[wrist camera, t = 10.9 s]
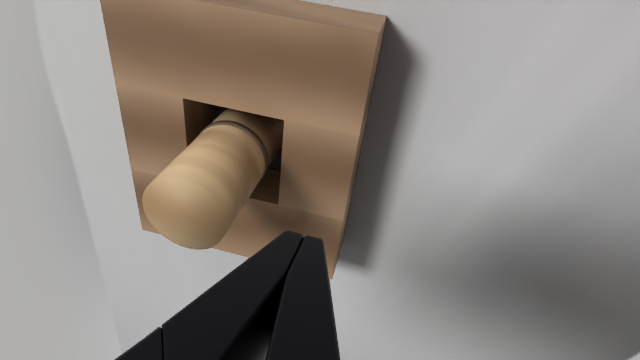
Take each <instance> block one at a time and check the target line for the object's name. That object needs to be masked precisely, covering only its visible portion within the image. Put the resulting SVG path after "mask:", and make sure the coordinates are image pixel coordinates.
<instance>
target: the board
mask: <svg viewBox="0 0 640 360" xmlns="http://www.w3.org/2000/svg"><path fill="white" fill-rule="evenodd" d="M100 2H101V7H102V13H103V18H104V24H105V29H106V35H107V40H108V45H109V51H110V56H111V62H112V67H113V73H114V78H115V83H116V89H117V94H118V100H119V105H120V111H121V116H122V121H123V127H124V132H125V138H126V143H127V148H128V154H129V159H130V165H131V170H132V176H133V181H134V186H135V192H136V197H137V203H138V208H139V214H140V219H141V224H142V229H143V230H146V231H150V232H154V233H158V234H161V233H159V232H158V231H157V230H156V229H155V228H154V226H153V225H152V224H151V223H150V221H149V220H148V218H147V216H146V214H145V212H144V208H143V203H142V197H143V193H144V191H145V189H146V187H147V186H148V185H149V184H150V183H151V182H152V181H153V180H154V179H155V178H156V177H157V176H158V175H159V174H160V173H161V172H162V171H163V170H164V169H165V168H166V167H167V166H168V165H169V164H170V163H171V162H172V161H173V160H174V159H175V158H176V157H177V156H178V155H180V154H181V153H182V152H183V151H184V150H185V149H186V148H187V147H188V146H189V145H190V144H191V143H192V142H193V141H194V140H195V139H196V138H197V137H198V135H199V134H200V133H201V131H202V130H203V129H204V128H206V127H207V126H208V125H209V124H211V123H212V122H213V112H212V105H216V106H221V107H226V108H230V109H235V110H240V111H244V112H249V113H253V114H258V115H263V116H267V117H272V118H277V119H281V120H284V129H283V143H282V158H281V171H278V170H273V169H269V168H268V169H267V171H266V173H265V175H264V176H263V178H262V179H261V181H260V182H259V183H258V184H257V186H256V187H255V189H254V190H253V192H252V193H251V195H250V196H249V198H248V200H247V201H246V203H245V204H244V206H243V207H242V209H241V210H240V212H239V214H238V215H237V217H236V218H235V220H234V221H233V223H232V225H231V226H230V228H229V229H228V231H227V232H226V234H225V235H224V237H223V239H222V240H221V241H220V242H219V243H218V244H217V245H215V246H213V247H211V248H215V249H219V250H223V251H226V252H230V253H234V254H238V255H242V256H245V257H249V258H250V257H251V256H253V255H254V254H255V253H257V252H258V251H259V250H261V249H262V248H263V247H264V246H266V245H267V244H268V243H270V242H271V241H272V240H274V239H275V238H276V237H278V236H279V235H280V234H281V233H283V232H284V231H286V230H290V231H294V232H298V233H301V234H303V235H304V237H305V236H306V235H310V236H314V237H317V238H321V239H323V241H324V245H325V252H326V259H327V267H328V274H329V279H332V277H333V274H334V270H335V267H336V263H337V260H338V256H339V253H340V249H341V246H342V241H343V236H344V231H345V226H346V221H347V216H348V211H349V206H350V201H351V196H352V191H353V186H354V180H355V175H356V170H357V165H358V160H359V155H360V150H361V145H362V140H363V135H364V130H365V125H366V120H367V114H368V109H369V104H370V99H371V94H372V89H373V84H374V79H375V74H376V69H377V64H378V59H379V54H380V48H381V43H382V38H383V33H384V28H385V23H386V18H387V16H383V15H378V14H372V13H366V12H361V11H355V10H349V9H344V8H338V7H332V6H327V5H321V4H315V3H310V2H304V1H298V0H100Z"/></svg>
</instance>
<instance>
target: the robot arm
mask: <svg viewBox="0 0 640 360" xmlns="http://www.w3.org/2000/svg"><path fill="white" fill-rule="evenodd" d="M115 360H340V354H339V347H338V340H337V332H336V325H335V318H334V311H333V303H332V296H331V289H330V281H329V274H328V267H327V259H326V252H325V245H324V241H323V239H321V238H317V237H314V236H310V235H306V236H305V237H304V235H303V234H301V233H298V232H294V231H290V230H286V231H284V232H283V233H281V234H280V235H279V236H278V237H276V238H275V239H274V240H272V241H271V242H270V243H268V244H267V245H266V246H264V247H263V248H262V249H261V250H259V251H258V252H257V253H255V254H254V255H253V256H251V257H250V258H249V259H247V260H246V261H245V262H244V263H242V264H241V265H240V266H238V267H237V268H236V269H234V270H233V271H232V272H230V273H229V274H228V275H226V276H225V277H224V278H223V279H221V280H220V281H219V282H217V283H216V284H215V285H213V286H212V287H211V288H209V289H208V290H207V291H206V292H204V293H203V294H202V295H200V296H199V297H198V298H196V299H195V300H194V301H192V302H191V303H190V304H189V305H187V306H186V307H185V308H183V309H182V310H181V311H179V312H178V313H177V314H175V315H174V316H173V317H172V318H170V319H169V320H168V321H166V322H165V323H164V324H162V328H160V327H158V328H157V329H155V330H154V331H153V332H152V333H150V334H149V335H148V336H146V337H145V338H144V339H142V340H141V341H140V342H138V343H137V344H136V345H134V346H133V347H131V348H130V349H129V350H127V351H126V352H125V353H123V354H122V355H120V356H119V357H118V358H116V359H115Z"/></svg>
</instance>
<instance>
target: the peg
mask: <svg viewBox="0 0 640 360" xmlns="http://www.w3.org/2000/svg"><path fill="white" fill-rule="evenodd" d="M283 129H284V120H281V119H277V118H272V117H267V116H263V115H258V114H253V113H249V112H244V111H240V110H235V109H230V108H226V109H225V110H224V111H223V112H222V113H221V114H220V115H219V116H218V117H217V118H216V119H215V120H214V121H213V122H212V123H211V124H209V125H208V126H207V127H206V128H204V129H203V130H202V131H201V133H200V134H199V135H198V137H197V138H196V139H195V140H194V141H193V142H192V143H191V144H190V145H189V146H188V147H187V148H186V149H185V150H184V151H183V152H182V153H181V154H180V155H178V156H177V157H176V158H175V159H174V160H173V161H172V162H171V163H170V164H169V165H168V166H167V167H166V168H165V169H164V170H163V171H162V172H161V173H160V174H159V175H158V176H157V177H156V178H155V179H154V180H153V181H152V182H151V183H150V184H149V185H148V186H147V187H146V189H145V191H144V193H143V197H142V203H143V208H144V212H145V214H146V216H147V218H148V220H149V221H150V223H151V224H152V225H153V226H154V228H155V229H156V230H157V231H158V232H159V233H161V234H162V235H163V236H164V237H166V238H167V239H169V240H170V241H172V242H174V243H176V244H178V245H180V246H183V247H186V248H191V249H208V248H211V247H213V246H215V245H217V244H218V243H219V242H220V241H221V240H222V239H223V237H224V235H225V234H226V232H227V231H228V229H229V228H230V226H231V225H232V223H233V221H234V220H235V218H236V217H237V215H238V214H239V212H240V210H241V209H242V207H243V206H244V204H245V203H246V201H247V200H248V198H249V196H250V195H251V193H252V192H253V190H254V189H255V187H256V186H257V184H258V183H259V182H260V181H261V179H262V178H263V176H264V175H265V173H266V171H267V169H268V167H269V165H270V164H271V162H272V161H273V159H274V157H275V156H276V154H277V153H278V151H279V150H280V148H281V147H282V143H283Z"/></svg>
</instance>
